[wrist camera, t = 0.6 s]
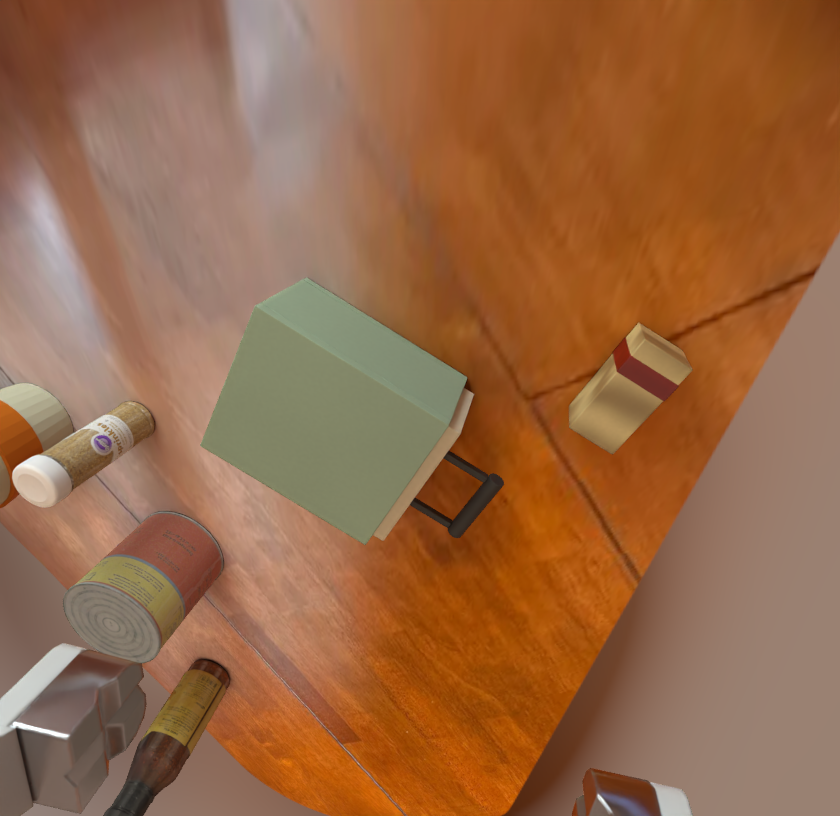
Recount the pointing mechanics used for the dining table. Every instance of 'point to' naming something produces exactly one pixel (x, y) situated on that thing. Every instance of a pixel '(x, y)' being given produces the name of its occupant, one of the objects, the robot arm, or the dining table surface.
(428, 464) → the drawer
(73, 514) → the dining table surface
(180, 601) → the canned food
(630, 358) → the tan and red block
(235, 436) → the cabinet
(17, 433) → the reusable coffee cup
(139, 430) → the sprinkles bottle
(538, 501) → the dining table surface
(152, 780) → the sauce bottle
